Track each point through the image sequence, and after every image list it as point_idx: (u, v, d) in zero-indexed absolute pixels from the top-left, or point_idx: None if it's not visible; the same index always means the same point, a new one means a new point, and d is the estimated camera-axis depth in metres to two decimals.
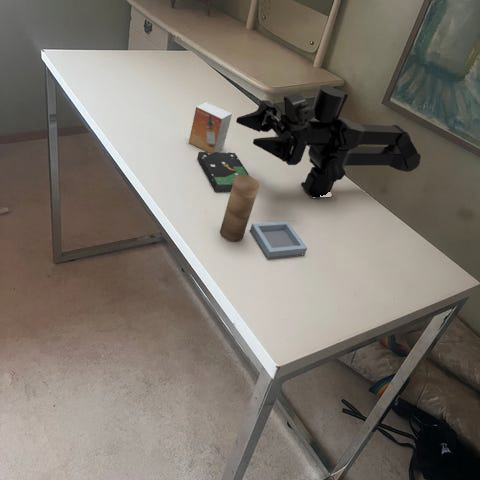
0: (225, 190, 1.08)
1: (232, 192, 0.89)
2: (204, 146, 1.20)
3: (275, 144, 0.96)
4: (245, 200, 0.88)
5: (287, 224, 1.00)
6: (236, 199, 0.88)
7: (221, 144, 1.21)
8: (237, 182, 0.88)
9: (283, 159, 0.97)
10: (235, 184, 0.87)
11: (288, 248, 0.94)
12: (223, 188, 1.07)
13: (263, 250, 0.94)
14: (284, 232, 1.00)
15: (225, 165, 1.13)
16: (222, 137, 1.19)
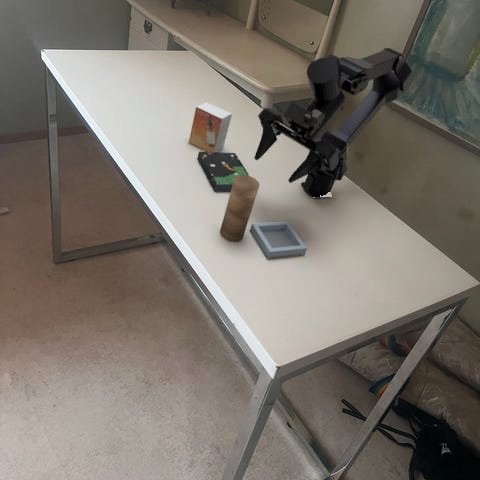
0: (224, 190, 1.08)
1: (232, 192, 0.89)
2: (204, 146, 1.20)
3: (308, 166, 0.91)
4: (245, 200, 0.88)
5: (287, 224, 1.00)
6: (236, 199, 0.88)
7: (221, 144, 1.21)
8: (237, 182, 0.88)
9: (323, 169, 0.93)
10: (235, 184, 0.87)
11: (288, 248, 0.94)
12: (222, 187, 1.07)
13: (263, 250, 0.94)
14: (284, 232, 1.00)
15: (225, 165, 1.13)
16: (222, 137, 1.19)
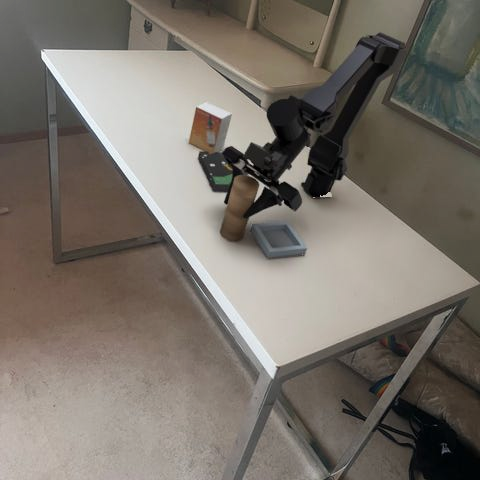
0: (223, 190, 1.08)
1: (232, 192, 0.89)
2: (204, 146, 1.20)
3: (263, 202, 0.90)
4: (245, 200, 0.88)
5: (287, 224, 1.00)
6: (236, 199, 0.88)
7: (221, 144, 1.21)
8: (237, 182, 0.88)
9: (279, 205, 0.91)
10: (235, 184, 0.87)
11: (288, 248, 0.94)
12: (221, 187, 1.07)
13: (263, 250, 0.94)
14: (284, 232, 1.00)
15: (225, 165, 1.13)
16: (222, 137, 1.19)
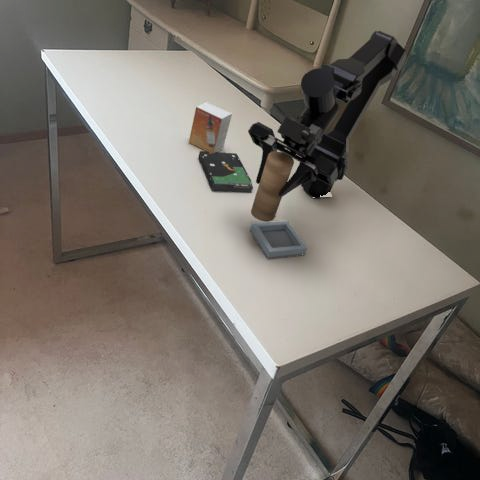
0: (222, 189, 1.07)
1: (266, 170, 0.85)
2: (204, 146, 1.20)
3: (298, 178, 0.87)
4: (281, 177, 0.85)
5: (287, 224, 1.00)
6: (271, 177, 0.85)
7: (221, 144, 1.21)
8: (272, 159, 0.84)
9: (313, 180, 0.89)
10: (270, 161, 0.84)
11: (288, 248, 0.94)
12: (220, 187, 1.07)
13: (263, 250, 0.94)
14: (284, 232, 1.00)
15: (225, 165, 1.13)
16: (222, 137, 1.19)
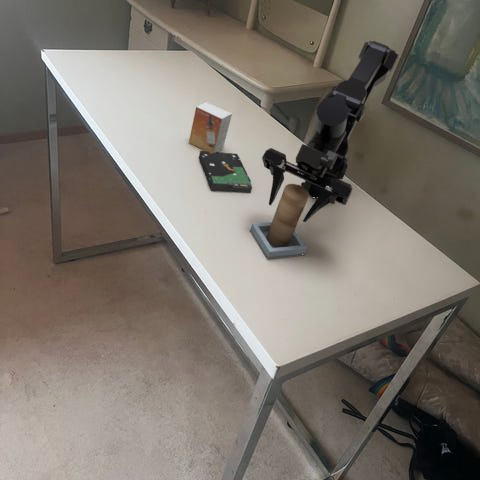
0: (221, 189, 1.07)
1: (284, 203, 0.89)
2: (204, 146, 1.20)
3: None
4: (298, 209, 0.89)
5: None
6: (289, 209, 0.89)
7: (221, 144, 1.21)
8: (289, 193, 0.88)
9: (332, 203, 0.93)
10: (288, 195, 0.88)
11: (288, 248, 0.94)
12: (219, 187, 1.07)
13: (263, 250, 0.94)
14: None
15: (225, 165, 1.13)
16: (222, 137, 1.19)
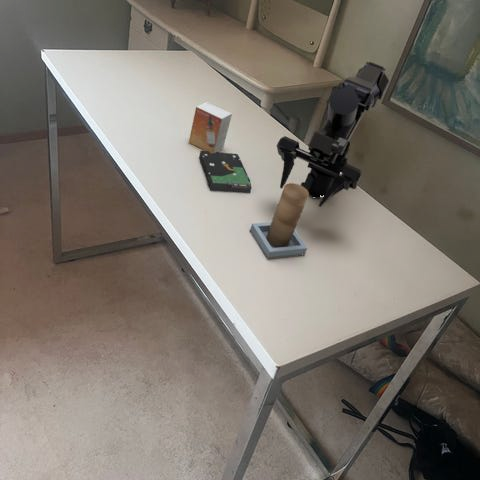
0: (220, 189, 1.07)
1: (283, 202, 0.89)
2: (204, 146, 1.20)
3: None
4: (298, 208, 0.89)
5: None
6: (289, 209, 0.89)
7: (221, 144, 1.21)
8: (289, 192, 0.88)
9: (346, 189, 0.98)
10: (287, 194, 0.88)
11: (288, 248, 0.94)
12: (218, 186, 1.07)
13: (263, 250, 0.94)
14: None
15: (225, 165, 1.13)
16: (222, 137, 1.19)
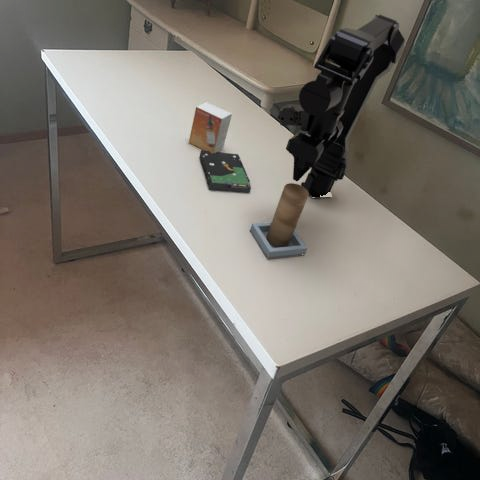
0: (220, 189, 1.07)
1: (283, 202, 0.89)
2: (204, 146, 1.20)
3: (300, 161, 0.89)
4: (298, 208, 0.89)
5: None
6: (289, 209, 0.89)
7: (221, 144, 1.21)
8: (289, 192, 0.88)
9: None
10: (287, 194, 0.88)
11: (288, 248, 0.94)
12: (217, 186, 1.07)
13: (263, 250, 0.94)
14: None
15: (225, 165, 1.13)
16: (222, 137, 1.19)
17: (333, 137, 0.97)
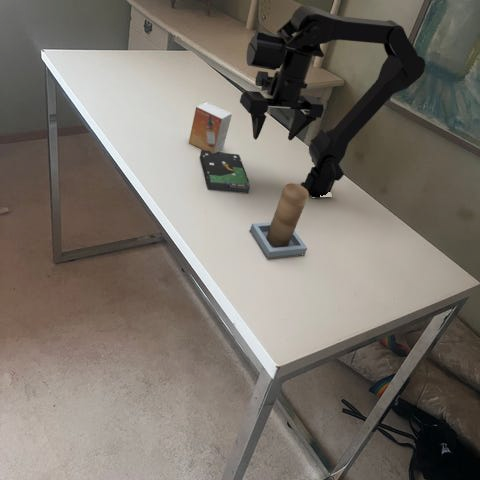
0: (218, 188, 1.07)
1: (283, 202, 0.89)
2: (204, 146, 1.20)
3: (255, 119, 1.00)
4: (298, 208, 0.89)
5: None
6: (289, 209, 0.89)
7: (221, 144, 1.21)
8: (289, 192, 0.88)
9: None
10: (287, 194, 0.88)
11: (288, 248, 0.94)
12: (216, 186, 1.07)
13: (263, 250, 0.94)
14: None
15: (224, 165, 1.13)
16: (222, 137, 1.19)
17: (311, 117, 1.03)
